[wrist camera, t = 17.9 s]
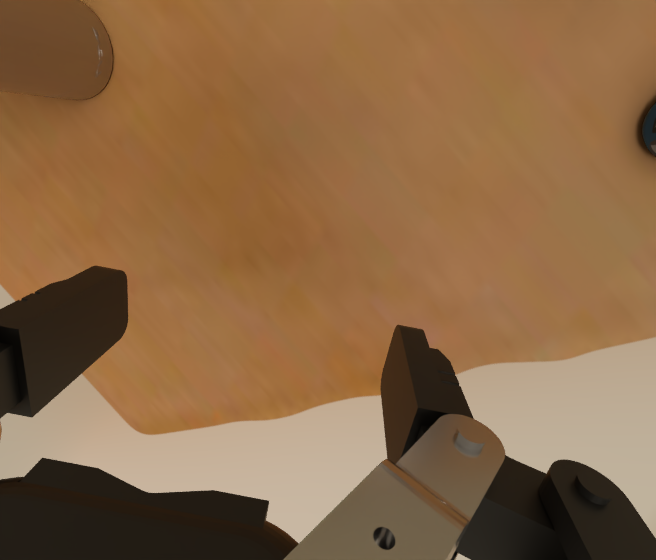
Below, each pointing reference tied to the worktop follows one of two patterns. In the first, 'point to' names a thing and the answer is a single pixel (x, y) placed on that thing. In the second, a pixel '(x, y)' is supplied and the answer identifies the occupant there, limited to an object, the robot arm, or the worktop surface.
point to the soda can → (650, 130)
